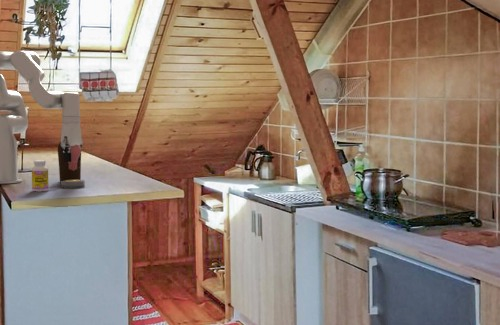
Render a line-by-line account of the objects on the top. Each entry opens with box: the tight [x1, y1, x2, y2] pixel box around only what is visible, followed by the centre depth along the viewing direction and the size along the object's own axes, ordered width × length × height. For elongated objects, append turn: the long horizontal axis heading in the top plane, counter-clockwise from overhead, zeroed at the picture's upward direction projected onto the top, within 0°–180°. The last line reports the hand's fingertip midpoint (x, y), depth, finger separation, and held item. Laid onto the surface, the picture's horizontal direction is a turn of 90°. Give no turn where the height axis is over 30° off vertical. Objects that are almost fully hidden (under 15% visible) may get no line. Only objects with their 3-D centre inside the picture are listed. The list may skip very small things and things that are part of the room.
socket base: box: [60, 179, 86, 189], centre depth 285 cm, size 10×10×3 cm
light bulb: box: [68, 145, 82, 170], centre depth 284 cm, size 7×7×12 cm
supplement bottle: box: [31, 159, 49, 193], centre depth 273 cm, size 7×7×13 cm
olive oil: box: [57, 141, 82, 183], centre depth 301 cm, size 11×11×25 cm
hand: (72, 160), depth 284 cm, fingers closed on light bulb, 7 cm apart
